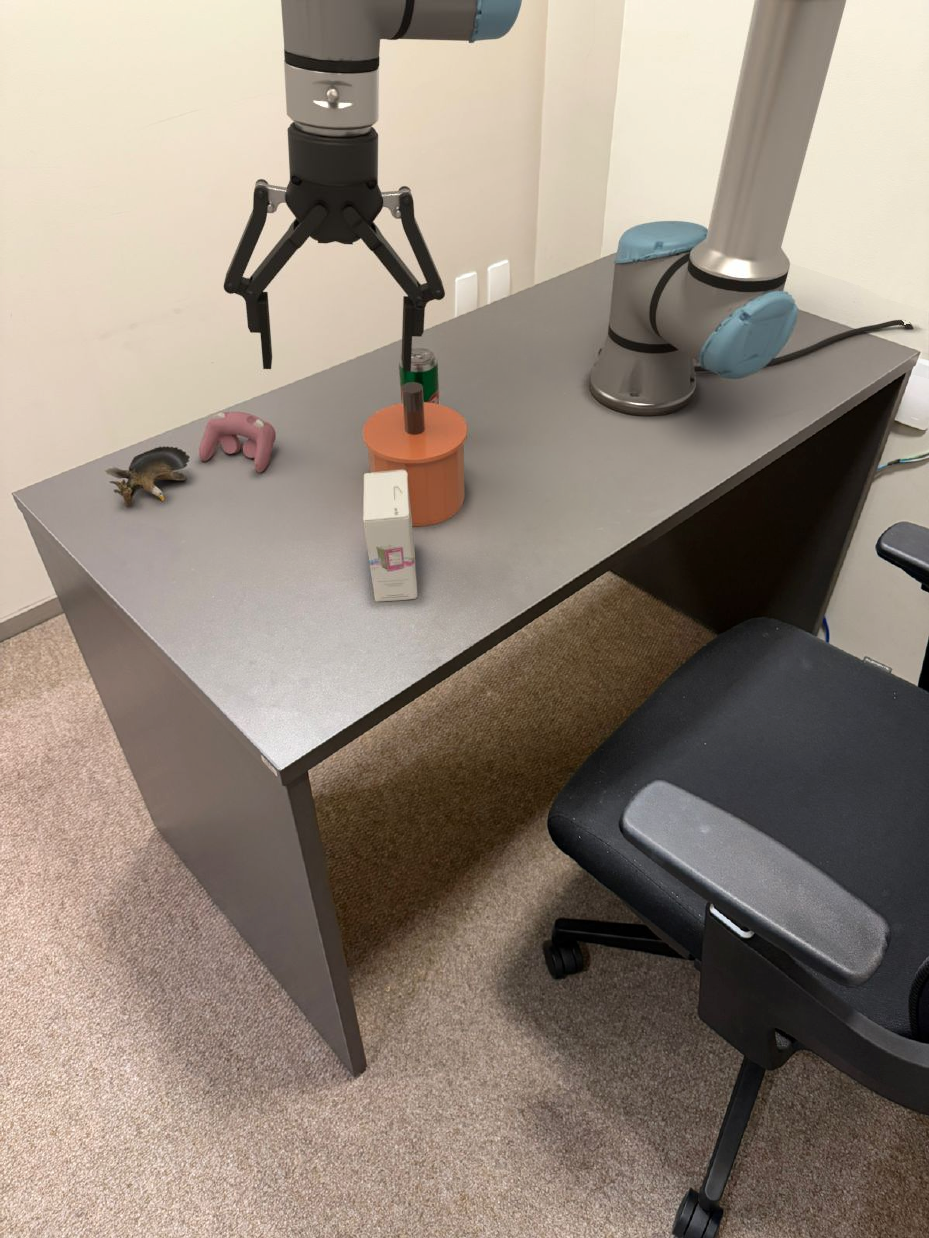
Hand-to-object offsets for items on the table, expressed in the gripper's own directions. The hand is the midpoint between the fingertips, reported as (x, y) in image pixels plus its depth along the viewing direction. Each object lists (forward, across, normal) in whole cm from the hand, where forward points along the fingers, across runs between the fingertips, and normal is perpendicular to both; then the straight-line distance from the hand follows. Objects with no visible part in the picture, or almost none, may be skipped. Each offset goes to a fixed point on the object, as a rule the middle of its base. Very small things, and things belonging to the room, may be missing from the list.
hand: (337, 364), depth 86 cm
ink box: (+24, +6, -5) cm, 25 cm away
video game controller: (+24, -13, +22) cm, 35 cm away
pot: (+22, +10, +10) cm, 26 cm away
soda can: (+22, +12, +24) cm, 34 cm away
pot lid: (+13, +9, +9) cm, 18 cm away
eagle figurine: (+26, -23, +15) cm, 38 cm away
